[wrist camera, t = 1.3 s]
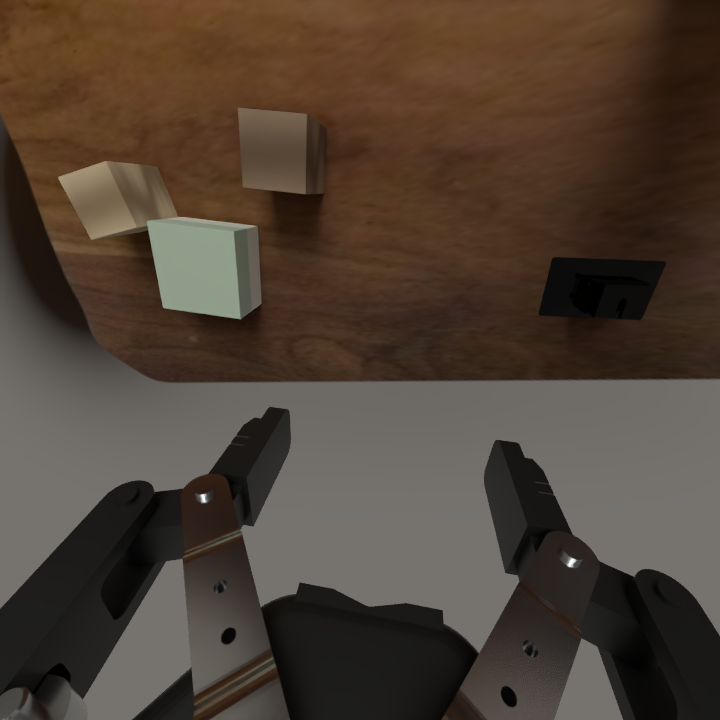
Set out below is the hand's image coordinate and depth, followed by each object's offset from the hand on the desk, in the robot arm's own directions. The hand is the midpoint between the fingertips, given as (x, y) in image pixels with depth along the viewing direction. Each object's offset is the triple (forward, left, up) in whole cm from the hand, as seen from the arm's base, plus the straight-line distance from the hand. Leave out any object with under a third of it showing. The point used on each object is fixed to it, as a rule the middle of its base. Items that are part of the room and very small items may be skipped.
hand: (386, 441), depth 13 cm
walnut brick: (-10, -11, -23) cm, 28 cm away
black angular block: (-2, +18, -24) cm, 30 cm away
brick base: (0, -19, -23) cm, 30 cm away
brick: (-5, -26, -23) cm, 36 cm away
